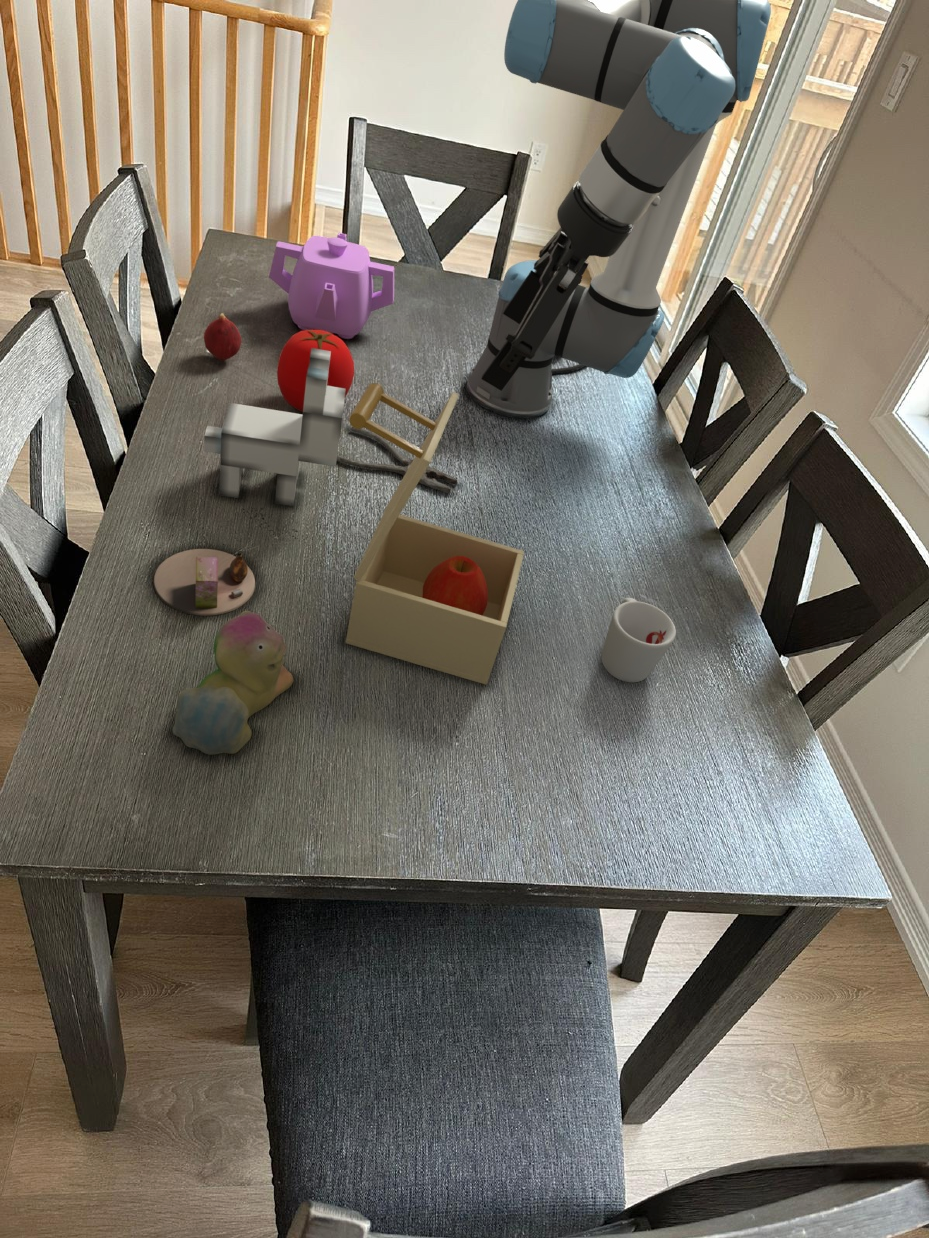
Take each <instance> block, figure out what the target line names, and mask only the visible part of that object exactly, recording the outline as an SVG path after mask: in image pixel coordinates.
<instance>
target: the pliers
mask: <svg viewBox="0 0 929 1238" xmlns="http://www.w3.org/2000/svg"><path fill="white" fill-rule="evenodd" d="M351 431H352V432H355V433H358V434H361V435H364V436H367V437H368V438H371V439H373V440H374V441H377V442H378V443H380V444H381V445H382V446H384V448H386V449H387V450H388V452H390V453H391V454H392V456H394V458H395V459H396V460H397V461H399V462H400V463H401V464H402V465H404V466H400V465H394V464H385V463H374V462H363V461H357V460H355V459H350V458H347V457H344V456H341V455H339V454H337V461H339V462H342V463H344V464H346V465H349V466H353V467H356V468H360V469H361V468H362V469H367V470H368V469H369V470H377V471H386V472H393V473H397V474H399V475H402V476H403V477H404V476H405V474H406V472H407V470H408V469H409V467H410V465H411V463H412V462H413V460H414V459H409V458H408V457H406V456H404V455H403V454H402V453H401V452H399V451H398V450H397V449H396V448H395V447H394V446H393V444H392V443H391V444H390V442H389V441H388V440H386V439H384V438H382V437H381V436H379V435H377V434H375V433H374V432H372V431H370V430H368V429H364V428H362V429H356V428H354V427H353V426H351ZM430 477H432V478H430ZM433 477H434V478H433ZM439 481H443V482H446V483H447V484H451V485H455V486H457V485H458V479H457V478H455V477H453V476H452V475H449V474H447V473H446V472H443V471H441V470H439V469H436V468H434V467H431V466H429V465H428V467H427V469H426V470H425V472H424V474H423V475H422V477H421V479H420V481H419V482H418V484H422V485H424V486H426V487H429V488H432V489H434V490H437V491H441V492H444V493H446V494H451V490H452V487H450V486H448V485H446V484H444V483H441V482H439Z"/></svg>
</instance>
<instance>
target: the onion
mask: <svg viewBox="0 0 929 1238" xmlns="http://www.w3.org/2000/svg"><path fill="white" fill-rule="evenodd" d="M203 341H204V346H205V348H206V349H207V351H208V352H209V353H210V354H211V355H212V356H213V357H214V358H215V359H217V360H218V361H221V362H223V361H226V360H229V359H231V358H233V357H234V356H236V355H237V354H238V353H239V351H240V350H241V346H242V335H241V333H240V331H239V329H238V328H237V326H236V325H235V323H234V322H232V321H231V320H230V319H228V318H227V317H226V315H225V314H224V313H223V312H222V313H220V314H219V317H218V318H216V319H214V320H213V321H211V322H210V323H209V324H208V326H207V327H206V328H205V330H204V333H203Z"/></svg>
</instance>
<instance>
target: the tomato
mask: <svg viewBox="0 0 929 1238" xmlns="http://www.w3.org/2000/svg"><path fill="white" fill-rule="evenodd" d="M311 348H315V349H320V350H326V351H331V355H330V363H329V372H328V380H327V386H332V387H338V388H344V389H345V398H346V397H347V395H348V393H349V391H350V389H351V386H352V384H353V382H354V376H355V361H354V359H353V356H352V353H351V350H350V349H349V347H348V346H347V344H346V343H345V342H344V340H342V339H341V337H339V336H338V335H335V334H334V333H331V332H327V331H323V330H316V329H313V330H307V329H306V330H300V331H298V332H296V333H295V334H293V335H292V336H291V337H290V338H289V339H288V340H287V342H286V343H285V344H284V345H283V348H282V350H281V352H280V355H279V358H278V363H277V368H276V369H277V370H276V377H277V385H278V388H279V390H280V393H281V395H282V397H283V398H284V400H285V401H286V402H287V404H288V405H290V406H291V407H292V408H293V409H296V410H297V411H300V412H302V413H303V407H304V397H305V387H306V377H307V371H308V367H309V362H310V354H311Z"/></svg>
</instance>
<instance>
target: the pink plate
mask: <svg viewBox="0 0 929 1238" xmlns="http://www.w3.org/2000/svg"><path fill="white" fill-rule="evenodd" d="M152 585H153V589H154V592H155V593H156V595H157V597H158V598H159V599H160V600H161V601H162V602H163V603H164V604H166V605H167V606H168V607H170V608H172V609H174V610H176V611H178V612H180V613H183V614H188V615H193V616H200V617H201V616H204V617H211V616H218V615H223V614H227V613H230V612H233V611H235V610H237V609H239V608H241V607H242V606H243V605H245V604H246V603H247V602H249V600H250V599H251V598H252V597H253V594H254V592H255V590H256V578H255V575H254V573H253V571H252V569H251V568H250V567H249V566H248V564H247V562H246V561H245V559H244V557H243V552H242V550H237V553H236V556H235V555H233V554H231V553H229V552H226V551H223V550H218V549H210V548H193V549H188V550H183V551H180V552H178V553H175V554H173V555H171V556H169V557H168V558H166V559H164V560H163V561H162V562H161V563H160V564H159V565H158V567H157V568H156V570H155V572H154V574H153V577H152Z"/></svg>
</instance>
